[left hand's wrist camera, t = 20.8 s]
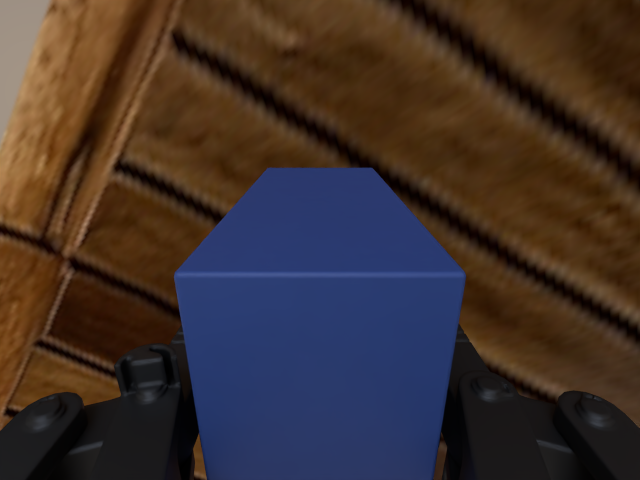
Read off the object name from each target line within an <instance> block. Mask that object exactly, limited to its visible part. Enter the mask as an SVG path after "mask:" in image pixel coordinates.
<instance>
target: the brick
mask: <svg viewBox="0 0 640 480" xmlns="http://www.w3.org/2000/svg"><path fill="white" fill-rule="evenodd" d="M174 279H175V285H176V291H177V297H178V303H179V309H180V316H181V322H182V328H183V334H184V340H185V346H186V353H187V359H188V365H189V371H190V377H191V383H192V390H193V396H194V402H195V408H196V414H197V421H198V427H199V433H200V439H201V445H202V451H203V458H204V464H205V470H206V476H207V480H433V476H434V470H435V464H436V458H437V452H438V446H439V440H440V433H441V427H442V421H443V415H444V409H445V403H446V396H447V390H448V384H449V378H450V372H451V366H452V359H453V353H454V347H455V341H456V335H457V329H458V322H459V316H460V310H461V304H462V298H463V292H464V285H465V279H466V275H465V272H464V271H463V270H462V269H461V267H460V266H459V265H458V264H457V263H456V262H455V261H454V260H453V258H452V257H451V256H450V255H449V254H448V253H447V252H446V251H445V249H444V248H443V247H442V246H441V245H440V244H439V243H438V241H437V240H436V239H435V238H434V237H433V236H432V235H431V234H430V232H429V231H428V230H427V229H426V228H425V227H424V226H423V225H422V223H421V222H420V221H419V220H418V219H417V218H416V217H415V216H414V214H413V213H412V212H411V211H410V210H409V209H408V208H407V206H406V205H405V204H404V203H403V202H402V201H401V200H400V199H399V197H398V196H397V195H396V194H395V193H394V192H393V191H392V190H391V188H390V187H389V186H388V185H387V184H386V183H385V182H384V181H383V179H382V178H381V177H380V176H379V175H378V174H377V173H376V172H375V170H374V169H373V168H268V169H267V170H266V171H265V172H264V173H263V174H262V175H261V176H260V177H259V179H258V180H257V181H256V182H255V183H254V184H253V185H252V186H251V188H250V189H249V190H248V191H247V192H246V193H245V194H244V195H243V197H242V198H241V199H240V200H239V201H238V202H237V203H236V204H235V206H234V207H233V208H232V209H231V210H230V211H229V212H228V213H227V215H226V216H225V217H224V218H223V219H222V220H221V221H220V222H219V224H218V225H217V226H216V227H215V228H214V229H213V230H212V231H211V233H210V234H209V235H208V236H207V237H206V238H205V239H204V240H203V242H202V243H201V244H200V245H199V246H198V247H197V248H196V249H195V251H194V252H193V253H192V254H191V255H190V256H189V257H188V258H187V260H186V261H185V262H184V263H183V264H182V265H181V266H180V267H179V269H178V270H177V271H176V272H175V275H174Z"/></svg>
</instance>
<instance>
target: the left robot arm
mask: <svg viewBox="0 0 640 480" xmlns="http://www.w3.org/2000/svg"><path fill="white" fill-rule="evenodd" d="M114 368H115V372H116V376H117V380H118V384H119V388H120V392H121V396H120V397H118V398H115V399H112V400H108V401H104V402H99V403H95V404H91V405H87V406H84V404H83V401H82V398H81V397H80V396H79V395H78V394H76V393H70V392H63V393H55V394H52V395H49V396H46V397H44V398H41V399H39V400H37V401H35V402H34V403H32V404H30V405H28V406H27V407H26V408H24V409H23V410H22V411H21V412H19V413H18V414H17V415H16V416H15V417H14V418H13V419H12V420H11V421H10V422H9V423H8V424H7V425H6V426H5V427H4V428H3V429H2V430H1V431H0V480H193V478H194V468H195V459H194V453H193V447H194V445H195V442H196V439H197V437H198V434H199V435H200V433H199V427H198V421H197V414H196V408H195V402H194V396H193V390H192V383H191V377H190V371H189V365H188V359H187V353H186V346H185V340H184V334H183V328H182V325H181V327H180V328H179V330H178V331H177V334H176V335H175V336H174V338H173V339H172V341H171V344H169V345H166V344H163V343H156V344H148V345H144V346H140V347H137V348H135V349H133V350H131V351H129V352H127V353H126V354H125V355H123V356H122V357H121V358H119V360H118V361H117V362H116V364H115V365H114ZM441 432H442V434H443V437H444V440H445V442H446V445H447V453H446V458H445V464H444V470H443V475H442V480H640V428H639V427H638V426H637V425H636V424H635V423H634V422H633V421H632V420H631V419H630V418H629V417H628V416H627V415H626V414H625V413H623V412H622V411H621V410H620V409H618V408H617V407H616V406H615V405H613V404H612V403H610V402H608V401H606V400H604V399H603V398H601V397H599V396H596V395H593V394H590V393H587V392H581V391H568V392H564V393H563V394H562V395H561V396H559V398H558V402H557V405H556V404H551V403H547V402H543V401H539V400H534V399H530V398H527V397H524V396H520V395H519V394H518V392H517V390H516V389H515V387H514V386H513V385H512V384H511V383H509V382H508V381H507V380H506V379H504V378H502V377H501V376H499V375H497V374H495V373H491V372H490V371H489V370H488V368H487V367H486V365H485V364H484V362H483V361H482V359H481V357H480V356H479V354H478V353H477V351H476V350H475V348H474V347H473V345H472V343H471V342H469V339H468V337H467V336H466V334H464V331H463V329H462V328H461V326H460V325H459V323H458V329H457V335H456V341H455V347H454V353H453V359H452V366H451V372H450V378H449V384H448V390H447V396H446V403H445V409H444V415H443V421H442V427H441ZM440 436H441V433H440ZM200 441H201V439H200ZM439 442H440V440H439ZM201 447H202V445H201ZM438 447H439V446H438Z"/></svg>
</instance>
